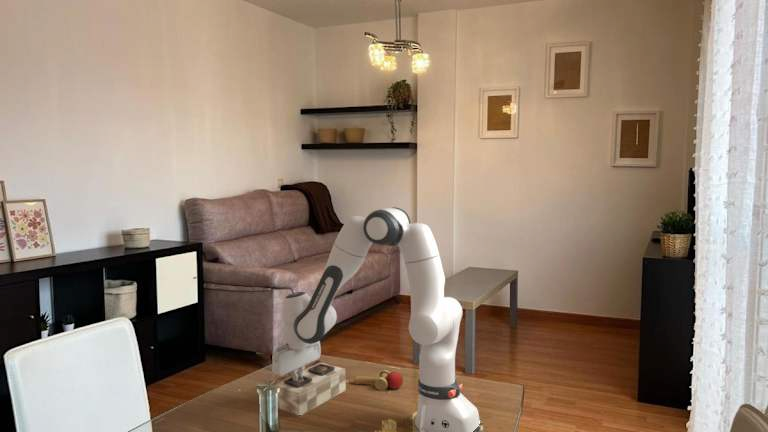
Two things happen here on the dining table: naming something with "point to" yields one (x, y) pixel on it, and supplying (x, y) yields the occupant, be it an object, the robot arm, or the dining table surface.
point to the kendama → (382, 380)
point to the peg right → (321, 368)
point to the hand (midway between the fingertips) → (297, 379)
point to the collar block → (311, 388)
